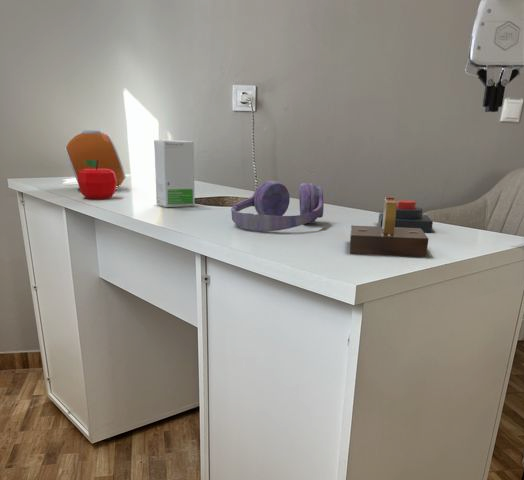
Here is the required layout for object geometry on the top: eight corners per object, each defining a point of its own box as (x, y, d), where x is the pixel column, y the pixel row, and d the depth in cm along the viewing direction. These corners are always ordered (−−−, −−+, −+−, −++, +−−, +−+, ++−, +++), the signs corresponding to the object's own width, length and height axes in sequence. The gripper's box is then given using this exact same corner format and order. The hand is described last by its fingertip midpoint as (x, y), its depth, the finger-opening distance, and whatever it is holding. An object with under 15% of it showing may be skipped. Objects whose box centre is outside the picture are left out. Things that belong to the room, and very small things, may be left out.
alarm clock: (129, 191, 169) (125, 130, 163) (68, 192, 164) (62, 129, 158) (123, 185, 186) (119, 130, 180) (68, 186, 181) (62, 129, 175)
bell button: (413, 209, 115) (414, 200, 114) (415, 211, 112) (416, 202, 111) (396, 208, 115) (396, 200, 115) (397, 210, 112) (398, 202, 111)
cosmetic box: (165, 208, 137) (162, 140, 131) (155, 204, 142) (152, 139, 136) (196, 206, 141) (194, 140, 135) (185, 203, 146) (183, 140, 140)
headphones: (261, 212, 128) (216, 238, 113) (259, 175, 124) (212, 198, 108) (336, 218, 120) (299, 248, 105) (337, 180, 116) (298, 205, 101)
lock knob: (393, 234, 90) (397, 200, 88) (383, 233, 90) (387, 200, 88) (391, 228, 95) (394, 197, 93) (381, 228, 95) (385, 196, 93)
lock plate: (419, 245, 97) (421, 227, 96) (426, 257, 88) (428, 237, 87) (349, 242, 99) (351, 224, 98) (349, 253, 90) (351, 234, 88)
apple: (113, 195, 160) (110, 158, 157) (123, 199, 152) (120, 160, 148) (75, 196, 156) (71, 158, 152) (83, 200, 147) (79, 160, 143)
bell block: (425, 225, 118) (428, 206, 117) (431, 232, 110) (434, 212, 109) (378, 223, 120) (379, 204, 118) (380, 230, 111) (382, 210, 110)
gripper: (467, -15, 89) (450, 110, 95) (566, -17, 87) (542, 111, 93) (459, -5, 95) (444, 111, 102) (550, -6, 93) (529, 113, 100)
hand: (491, 111), depth 98 cm, fingers closed
